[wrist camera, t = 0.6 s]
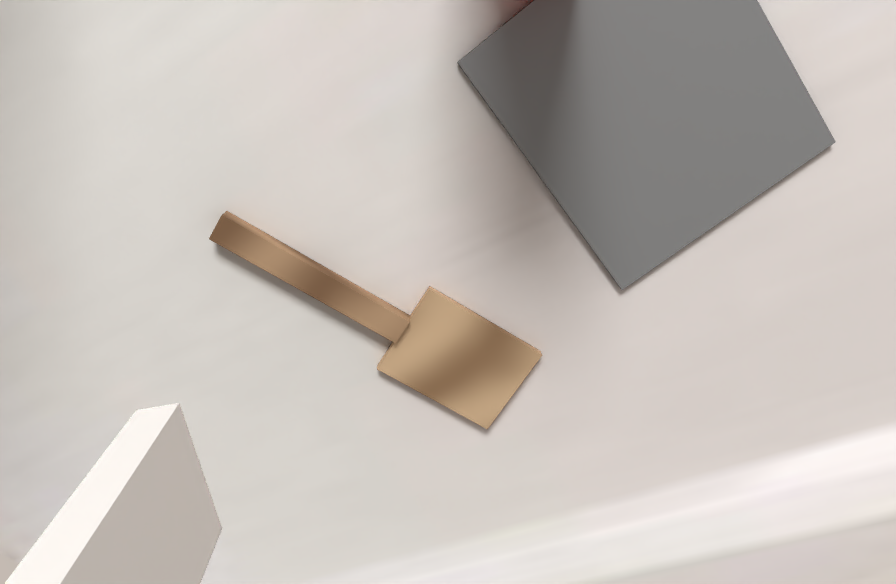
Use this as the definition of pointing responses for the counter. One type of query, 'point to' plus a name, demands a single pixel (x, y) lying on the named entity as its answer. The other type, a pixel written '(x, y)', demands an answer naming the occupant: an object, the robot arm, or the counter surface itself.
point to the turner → (405, 329)
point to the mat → (648, 115)
